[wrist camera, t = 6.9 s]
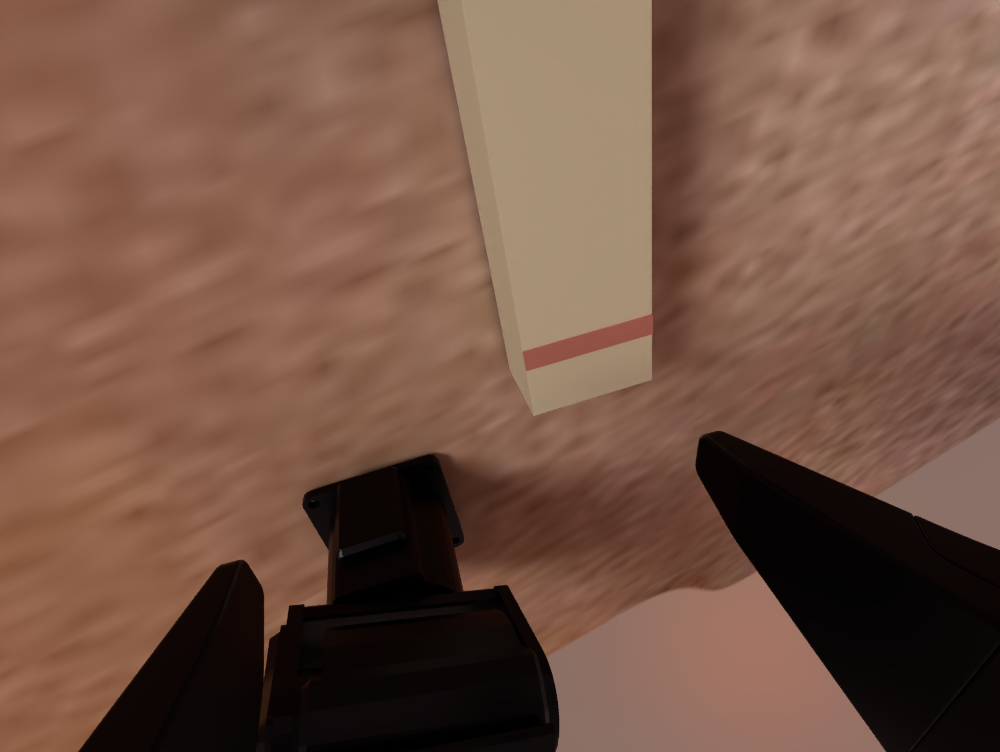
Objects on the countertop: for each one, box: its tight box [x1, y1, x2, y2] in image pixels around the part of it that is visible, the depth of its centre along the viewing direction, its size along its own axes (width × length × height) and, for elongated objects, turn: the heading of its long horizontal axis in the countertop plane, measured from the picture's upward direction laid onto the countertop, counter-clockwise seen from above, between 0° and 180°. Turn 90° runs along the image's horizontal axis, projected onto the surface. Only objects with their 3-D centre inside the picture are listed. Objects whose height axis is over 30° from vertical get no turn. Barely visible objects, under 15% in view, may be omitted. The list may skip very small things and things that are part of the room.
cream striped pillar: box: [437, 0, 653, 416], centre depth 17 cm, size 14×5×4 cm, turn 10°
